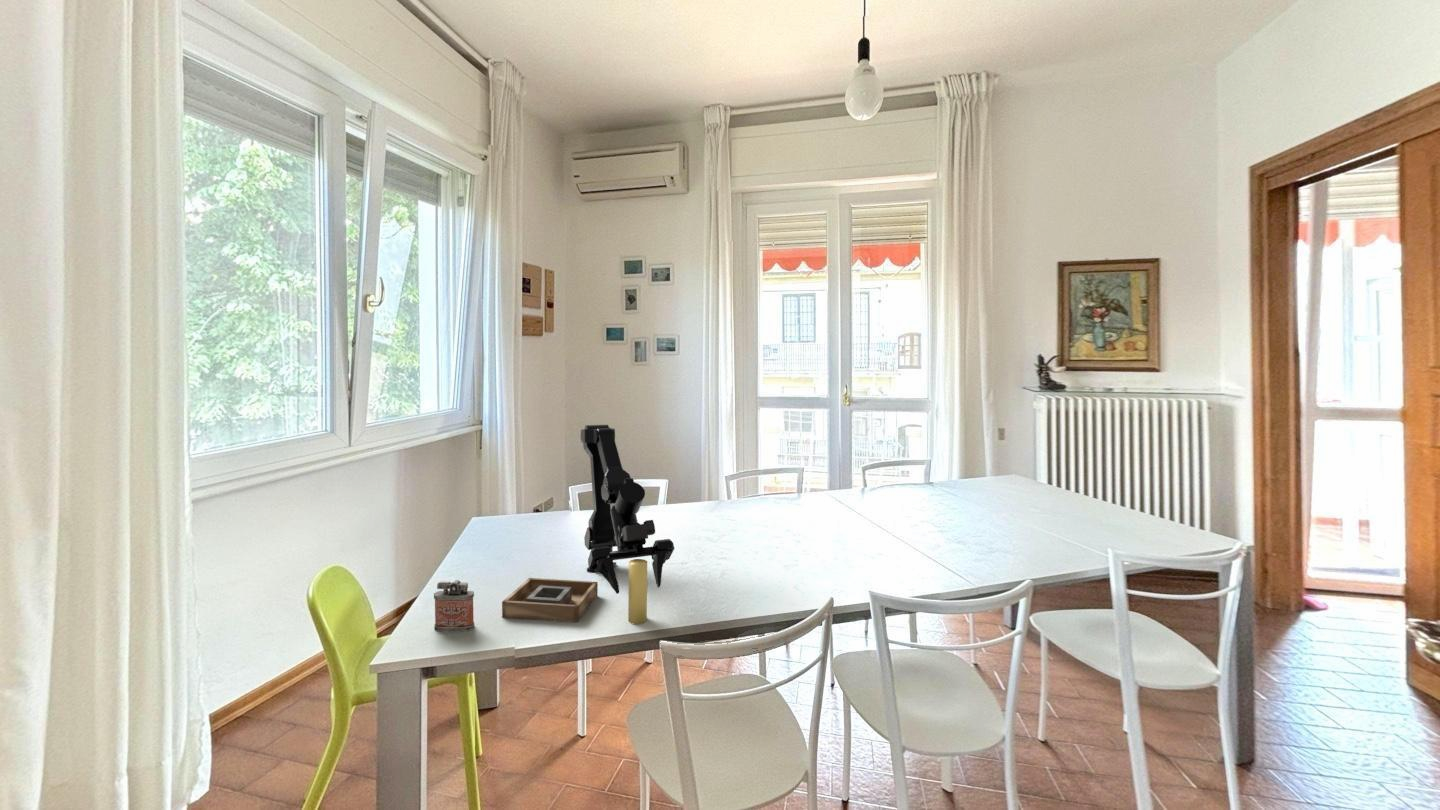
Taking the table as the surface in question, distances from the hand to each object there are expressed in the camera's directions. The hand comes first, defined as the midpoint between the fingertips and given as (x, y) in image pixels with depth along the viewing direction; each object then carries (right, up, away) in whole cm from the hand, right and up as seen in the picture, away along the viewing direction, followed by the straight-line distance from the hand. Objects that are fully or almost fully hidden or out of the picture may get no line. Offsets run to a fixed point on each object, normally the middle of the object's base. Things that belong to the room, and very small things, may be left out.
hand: (638, 589), depth 126 cm
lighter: (-38, -7, -4) cm, 39 cm away
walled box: (-21, -6, +7) cm, 23 cm away
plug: (-1, -7, +1) cm, 7 cm away
